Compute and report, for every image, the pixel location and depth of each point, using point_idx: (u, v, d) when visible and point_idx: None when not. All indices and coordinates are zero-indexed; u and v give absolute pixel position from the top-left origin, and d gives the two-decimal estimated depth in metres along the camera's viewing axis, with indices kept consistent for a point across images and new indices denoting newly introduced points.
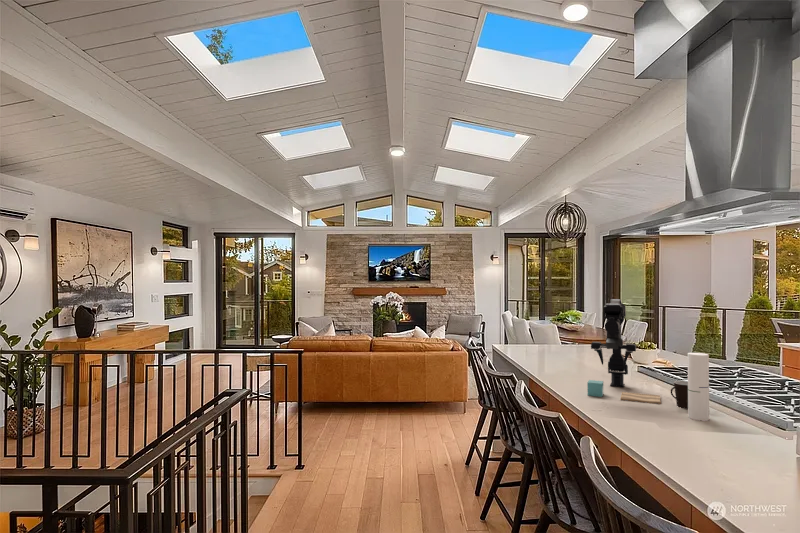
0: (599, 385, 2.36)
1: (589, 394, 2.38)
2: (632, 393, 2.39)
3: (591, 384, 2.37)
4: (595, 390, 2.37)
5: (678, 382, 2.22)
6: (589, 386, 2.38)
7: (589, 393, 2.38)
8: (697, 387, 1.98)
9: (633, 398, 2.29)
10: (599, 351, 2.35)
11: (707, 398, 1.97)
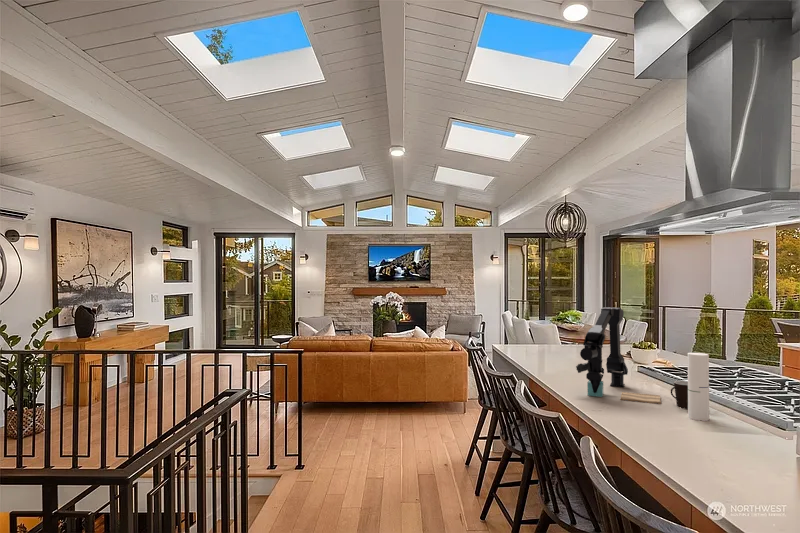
0: (599, 385, 2.36)
1: (589, 394, 2.38)
2: (632, 393, 2.39)
3: (591, 384, 2.37)
4: None
5: (678, 382, 2.22)
6: (589, 386, 2.38)
7: (589, 393, 2.38)
8: (697, 387, 1.98)
9: (633, 398, 2.29)
10: None
11: (707, 398, 1.97)
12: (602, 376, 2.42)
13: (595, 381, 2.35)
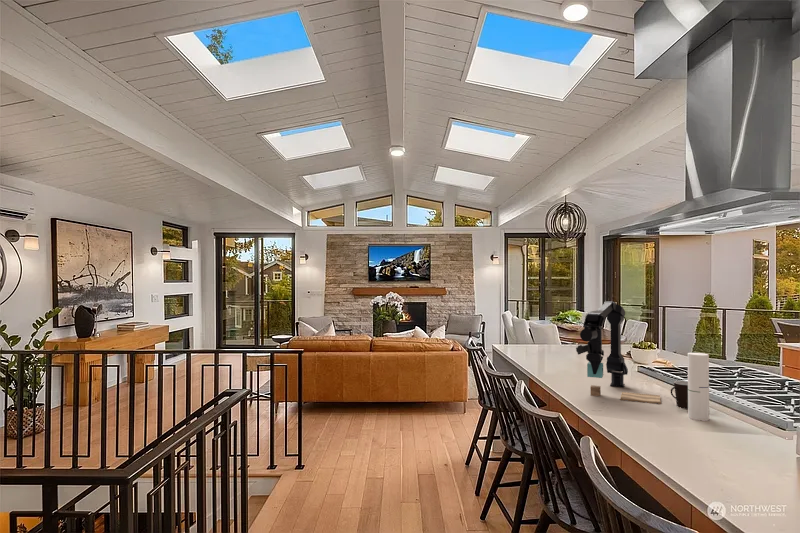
0: (599, 366, 2.36)
1: (589, 375, 2.38)
2: (632, 393, 2.39)
3: None
4: None
5: (678, 382, 2.22)
6: (589, 367, 2.38)
7: (589, 374, 2.38)
8: (697, 387, 1.98)
9: (633, 398, 2.29)
10: None
11: (707, 398, 1.97)
12: (602, 358, 2.42)
13: (595, 362, 2.36)
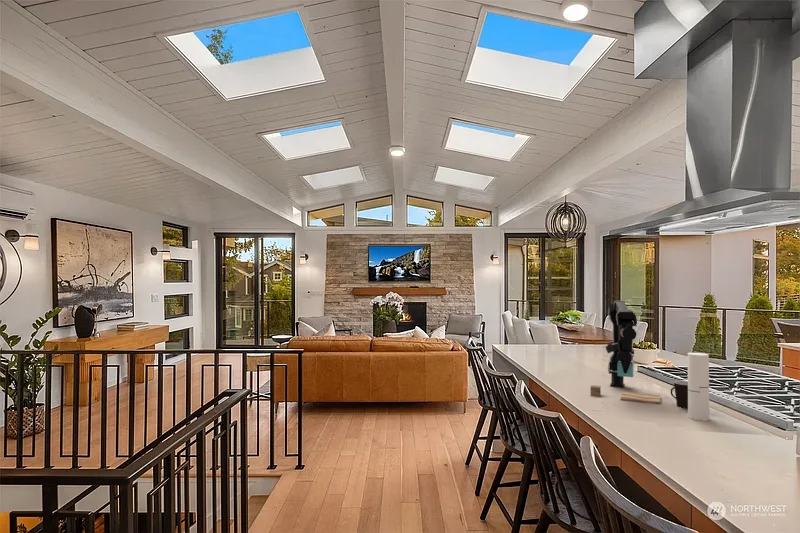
0: None
1: (619, 374, 2.33)
2: (632, 393, 2.39)
3: (621, 364, 2.32)
4: None
5: (678, 382, 2.22)
6: (619, 366, 2.33)
7: (619, 373, 2.33)
8: (697, 387, 1.98)
9: (633, 398, 2.29)
10: None
11: (707, 398, 1.97)
12: (632, 357, 2.37)
13: (625, 361, 2.30)
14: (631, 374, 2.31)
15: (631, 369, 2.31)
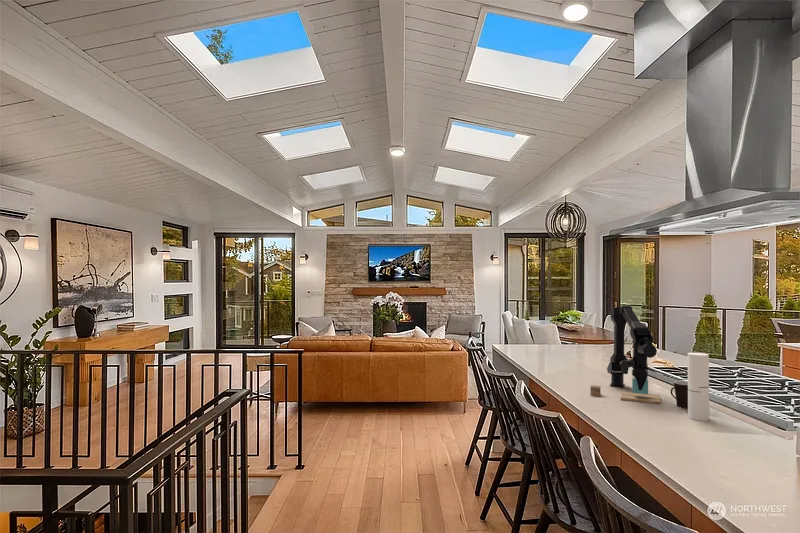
0: (645, 382, 2.29)
1: (634, 391, 2.30)
2: (632, 393, 2.39)
3: (636, 381, 2.30)
4: None
5: (678, 382, 2.22)
6: (634, 383, 2.30)
7: (634, 390, 2.30)
8: (697, 387, 1.98)
9: (633, 398, 2.29)
10: None
11: (707, 398, 1.97)
12: None
13: (641, 378, 2.28)
14: (646, 391, 2.28)
15: (646, 386, 2.28)
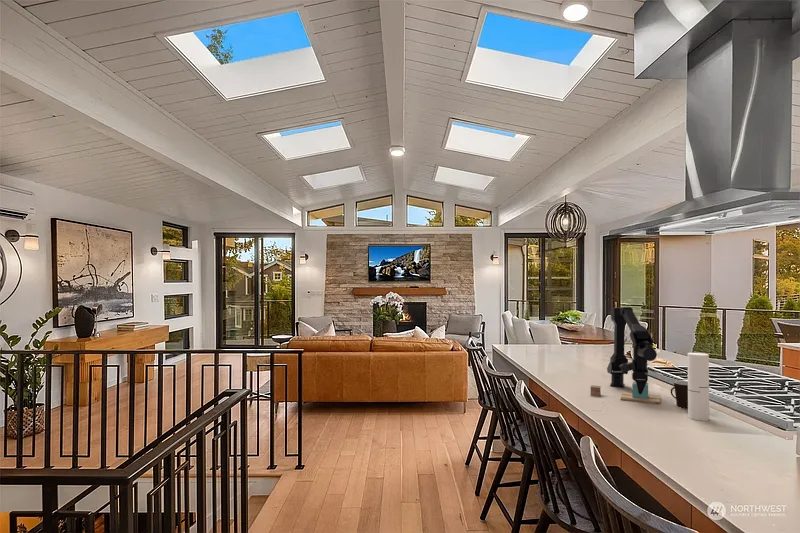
0: (645, 387, 2.28)
1: (634, 396, 2.30)
2: None
3: (636, 386, 2.30)
4: None
5: (678, 382, 2.22)
6: (634, 388, 2.30)
7: (634, 395, 2.30)
8: (697, 387, 1.98)
9: (633, 398, 2.29)
10: None
11: (707, 398, 1.97)
12: None
13: (641, 382, 2.27)
14: (646, 396, 2.28)
15: (646, 391, 2.28)
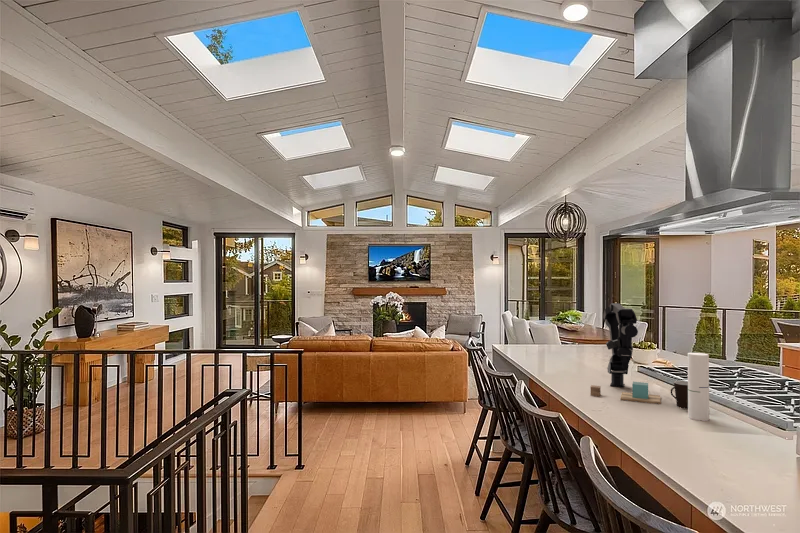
0: (645, 387, 2.28)
1: (634, 396, 2.30)
2: None
3: (636, 386, 2.30)
4: (640, 392, 2.29)
5: (678, 382, 2.22)
6: (634, 388, 2.30)
7: (634, 395, 2.30)
8: (697, 387, 1.98)
9: (633, 398, 2.29)
10: None
11: (707, 398, 1.97)
12: (631, 352, 2.48)
13: (625, 357, 2.39)
14: (646, 396, 2.28)
15: (646, 391, 2.28)
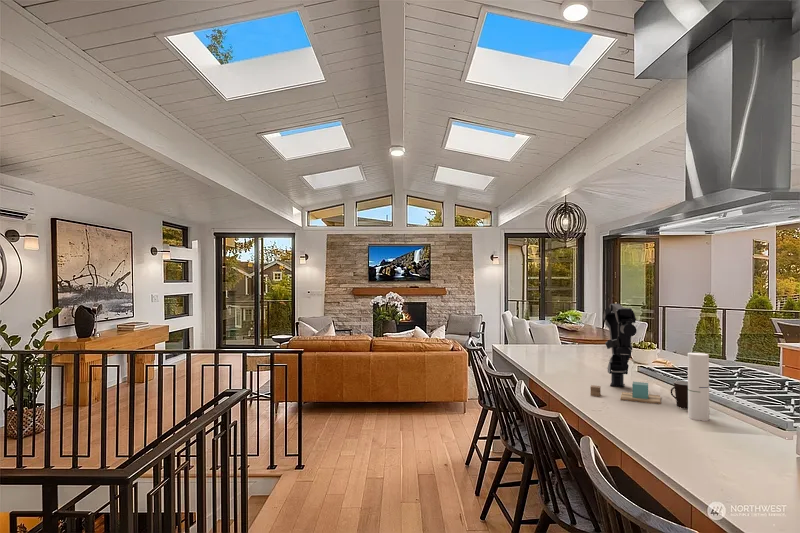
0: (645, 387, 2.28)
1: (634, 396, 2.30)
2: None
3: (636, 386, 2.30)
4: (640, 392, 2.29)
5: (678, 382, 2.22)
6: (634, 388, 2.30)
7: (634, 395, 2.30)
8: (697, 387, 1.98)
9: (633, 398, 2.29)
10: None
11: (707, 398, 1.97)
12: None
13: (624, 357, 2.40)
14: (646, 396, 2.28)
15: (646, 391, 2.28)
